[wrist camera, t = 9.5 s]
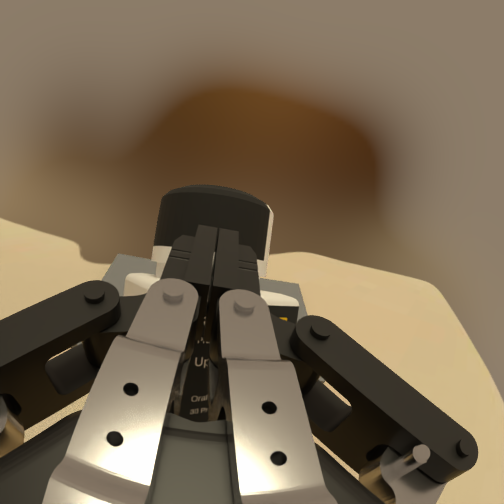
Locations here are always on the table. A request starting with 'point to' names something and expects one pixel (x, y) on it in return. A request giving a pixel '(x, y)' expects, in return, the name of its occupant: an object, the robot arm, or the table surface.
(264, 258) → the medicine bottle
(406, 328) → the table surface
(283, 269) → the table surface
